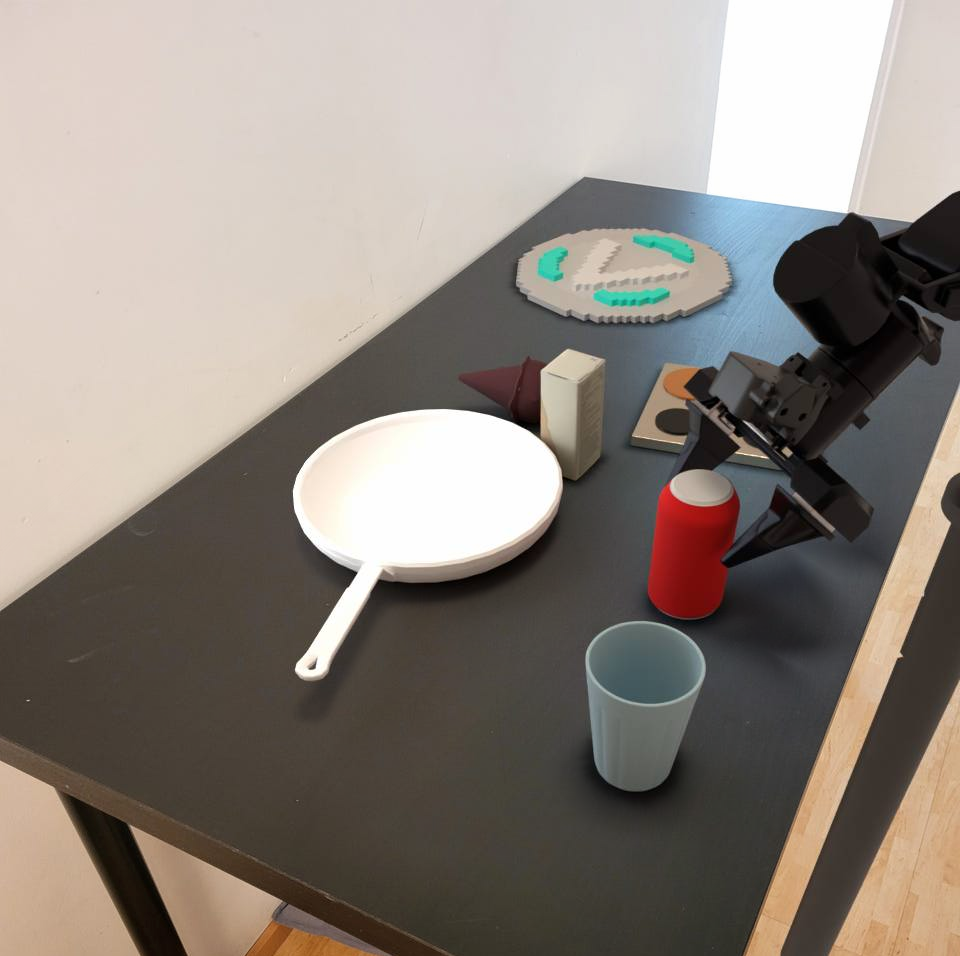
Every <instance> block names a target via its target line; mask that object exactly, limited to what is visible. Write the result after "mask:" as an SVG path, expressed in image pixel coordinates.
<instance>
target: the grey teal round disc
mask: <svg viewBox="0 0 960 956" xmlns="http://www.w3.org/2000/svg"><path fill="white" fill-rule="evenodd" d="M730 270H731V268H729V261H728V257H726V256H722V252H720V251H718V250H717V251H716V250H714V249H712V246H711V245H709V244H705V243H704V242H700V241H698V240H694V239H692V238H689V237H686V236H683V235H680V234H677V233H675V232H669V233H667V232H664V231H661V230H658V229H653V230H651V229H648V228H644V227H642V228H640V229H639V228H637V227H634V228H629V227H627V228H624V229H623V228H620V227H618V228H616V229H615V228H612V227H611V228H609V229H608V228H605V227H603V228H601V229H600V228H593V229H591V230H586V229H583V230H581V231H578V232H576V233H573V234H571V233H570V232H567V233H566V234H563V235H560V236H558V237H554V238H553V239H549V240H547V241H545V242H542V243H540V244H537V245H535V246H532V247H531V250H530V251H528V252H525V253H523V254H522V257H521V258H519V259H518V262H517V270H516V271H517V272H516V279H515V286H516V288H519V292H520V293H522V294H523V295H526V296H527V301H531V302H533V303H535V304H537V305H539V306H541V307H543V308H546V309H548V310H550V311H552V312H554V313H556V314H559V315H561V316H563V317H565V318H567V317H569V316H572V317H574V318H576V319H578V320H580V321H583V322H586V321H588V320H589V321H592V322H594V323H596V324H600V323H602V322H603V323H606V324H609V323H611V322H612V323H614V324H618V323H620V322H622V323H623V324H627V323H633V324H636V323H639V322H640V323H642V324H646V323H648V322H649V323H651V324H655V323H657V322H659V321H662V320H663V321H665V322H669V321H671V320H673V319H675V318H677V317H680V316H681V317H683V318H686V317H688V316H690V315H692V314H694V313H696V312H698V311H700V310H702V309H704V308H706V307H709V306H711V305H713V304H715V303H717V302H719V301H722V299H723V295H725V294H726V293H729V292H730V287H732V286H733V279H732V277H733V276H732V275H731V274H732V272H731V271H730Z"/></svg>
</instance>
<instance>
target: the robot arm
mask: <svg viewBox="0 0 960 956" xmlns="http://www.w3.org/2000/svg"><path fill="white" fill-rule="evenodd" d="M772 286H773V290H774V292H775V294H776V295H777V296H778V298H779V299H780V300H781V302H782V303H783V304H784V305H785V306H786V307H787V309H788V310H789V311H790V312H791V314H793V316H794V317H795V318H796V320H798V321H799V323H800V324H801V326H803V328H804V329H805V330H806V331H807V332H808V334H809V335H810V336H811V337H812V338H813V340H815V342H817V343H818V344H820V345H819V346H818V347H817V348H816V349H814V351H813V352H812V353H811V354H810V355H809V356H808V357H805V356H804V355H803V354H801V353H800V352H799V351H797V352H796V353H795V354H792V355H790V356H788V358H786V360H785V361H784V362H783V363H782V364H780V365H777V364H773V363H771V362H769V361H766V360H764V359H761V358H759V357H758V358H757V357H755V356H751V355H747V354H744V353H740V352H737V351H734V350H731V351H729V352H728V354H727V355H726V357H725V359H724V361H723V363H722V364H721V366H720V368H719V369H718V368H716V367H715V365H711V366H707V367H701V368H702V369H699V370H698V371H697V372H696V373H695V374H694V376H693V377H692V378H691V379H690V380H689V381H688V382H687V383H686V384H685V385H684V388H685V389H686V390H687V391H688V392H689V393H690V394H691V395H692V396H693V397H694V398H695V400H694V401H693V402H691V401H690V400H689V399H688V398H687V399H686V402H685V405H686V406H687V407H688V409H689V432H688V435H687V437H686V440H685V443H684V445H683V448H682V450H681V452H680V454H679V455H678V457H677V459H676V461H675V463H674V464H673V468H672V470H671V472H670V474H669V476H668V478H667V481H666V482H665V485H664V486H663V489H664V488H665V486H666V485H667V484H668V483H669V482H670V481H671V480H672V479H673V478H674V477H675V476H676V475H678V474H679V473H682V472H685V471H689V470H696V469H702V470H710V471H714V470H715V469H716V468H717V467H719V466H720V465H721V464H722V463H724V462H726V461H725V460H726V459H728V458H729V457H730V456H731V455H733V454H734V453H735V452H736V451H738V450H739V449H740V448H741V447H740V446H739V445H738V444H737V443H736V442H735V441H734V440H733V439H732V438H730V437H729V436H730V435H731V434H732V433H734V434H735V435H736V436H737V437H738V438H740V437H746V438H747V439H749V440H750V441H751V442H752V443H753V444H754V445H755V446H756V447H757V448H758V449H759V450H761V451H762V452H763V453H764V454H765V455H766V456H767V457H768V458H769V459H770V460H771V461H772V462H774V463H775V464H776V465H777V466H778V467H779V468H780V469H781V470H782V472H783V473H784V474H785V475H786V476H787V477H789V478H790V483H789V487H790V489H792V490H793V491H794V492H793V493H792V494H790V493H789V492H788V491H787V490H786V489H785V488H783V487H782V486H781V485H780V484H779V483H777V484H776V485H775V488H774V491H773V494H772V497H771V501H770V502H769V506H768V508H767V509H766V510H765V511H764V512H763V513H762V514H761V515H760V516H759V517H758V518H757V519H756V520H755V521H754V522H753V523H752V524H751V525H750V526H749V527H748V528H747V529H746V530H745V531H744V532H743V533H742V534H741V535H740V537H738V538H737V539H736V540H734V542H733V545H732V546H731V547H730V548H729V549H728V551H727V552H726V553H725V554H724V556H723V557H722V558H721V560H720V562H721V563H722V564H723V565H724V566H725V567H727V568H728V569H731V568H733V567H736V566H739V565H741V564H744V563H747V562H749V561H752V560H754V559H757V558H760V557H762V556H765V555H767V554H770V553H773V552H776V551H778V550H782V549H784V548H788V547H791V546H794V545H798V544H801V543H805V542H808V541H812V540H815V539H819V538H825V539H827V540H828V541H829V542H832V541H834V539H836V538H837V536H836V535H835V534H833V532H834V531H837V533H839V534H840V535H841V536H843V538H845V539H846V540H847V541H848V542H849V543H850V544H853V542H855V541H856V540H857V539H858V538H859V537H860V536H861V535H862V534H863V533H864V532H865V531H866V530H867V529H869V527H870V524H871V522H872V518H873V514H874V510H875V508H874V507H873V506H872V505H871V504H870V503H869V502H868V501H867V500H866V499H865V498H864V497H863V496H862V495H861V494H860V493H859V491H857V490H856V488H854V487H853V486H852V485H851V484H850V482H848V481H847V480H846V479H844V478H843V477H842V475H840V473H838V472H836V470H834V469H833V468H832V467H831V466H830V465H828V464H829V460H827V458H825V456H824V455H822V453H824V452H825V451H826V450H827V449H828V448H829V447H830V446H831V445H832V444H833V443H834V442H835V441H836V440H837V439H838V438H839V437H840V436H841V435H842V434H843V433H844V432H845V431H846V430H847V429H848V428H849V427H850V426H851V425H852V426H853V427H855V428H857V430H859V431H861V430H862V429H863V428H864V427H866V425H868V423H870V421H871V419H870V418H869V416H868V414H866V413H865V411H866V410H867V409H868V408H869V407H870V406H871V405H872V404H873V403H874V402H875V401H876V400H877V399H878V398H879V397H880V396H881V395H882V394H883V393H884V392H885V391H886V390H887V389H888V388H889V387H890V386H891V385H892V384H893V383H894V382H895V381H896V380H898V378H899V377H900V376H901V375H902V374H903V373H904V372H905V371H906V370H907V369H908V368H909V367H910V366H911V365H912V364H913V363H914V362H915V361H916V360H917V359H918V358H919V359H920V360H922V361H923V362H924V363H926V364H928V365H929V366H931V367H935V366H936V365H938V363H939V362H940V360H941V356H942V337H943V334H944V331H945V327H944V326H942V325H941V324H939V323H937V322H936V321H935V320H933V319H931V318H930V317H929V316H926V315H922V316H921V314H920V313H918V310H916V308H915V307H914V306H913V305H912V304H910V303H909V302H907V301H906V300H903V299H900V298H902V297H904V298H906V299H908V300H909V301H911V302H912V303H915V305H918V306H920V307H921V308H923V309H924V310H926V311H928V312H929V313H931V314H937V315H940V316H942V317H943V318H946V319H947V320H949V321H953V322H960V190H957V191H954V192H952V193H950V194H949V195H948V196H946V197H945V198H944V199H942V200H941V201H940V202H938V203H937V204H936V205H934V206H933V207H932V208H931V209H929V210H928V211H926V212H925V213H924V214H922V215H921V216H920V217H919V218H917V219H916V220H914V221H913V222H912V223H911V224H910V225H909V226H908V227H905V228H902V229H899V230H896V231H894V232H891V233H889V234H886V235H883V236H880V235H879V231H878V230H877V228H876V227H875V225H874V224H873V222H872V221H870V220H869V219H867V218H865V217H864V216H861V215H860V214H857V213H856V212H854V211H850V212H848V213H847V214H846V216H845V217H844V218H843V219H842V220H841V221H840V222H839V223H838V224H835V225H828V226H823V227H820V228H818V229H817V228H816V229H815V230H813V231H810V232H809V233H807V234H805V235H804V236H803V237H801V238H800V239H795V240H794V241H793V242H791V244H790V245H789V246H788V247H787V248H786V250H785V251H783V254H782V255H781V256H780V257H779V260H778V262H777V264H776V265H775V267H774V272H773V274H772ZM718 370H719V371H718ZM767 431H768V432H769V433H770V434H771V435H772V436H773V438H772V439H771V440H770V439H769V438H767V437H766V436H765V435H764V434H765V433H766V432H767ZM761 438H762V439H763V440H764V441H765V442H766V443H767V444H768V445H769V446H768V445H767V444H766V443H765V442H764V441H763V440H762V439H761ZM785 447H787V448H788V449H789V450H790V451H791V452H792V454H791V455H790V456H789V457H788V456H786V455H785V454H784V453H783V452H782V450H783V449H784V448H785ZM774 450H775V451H776V452H777V453H778V454H779V455H778V454H777V453H776V452H775V451H774ZM781 470H780V471H781Z"/></svg>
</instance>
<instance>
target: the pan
mask: <svg viewBox="0 0 960 956" xmlns="http://www.w3.org/2000/svg"><path fill="white" fill-rule="evenodd" d="M563 491H564V485H563V476H562V472H561V468H560V466H559V463H558V461H557V459H556V457H555V455H554V454H553V453H552V451H551V450H550V449H549V448H548V446H547V445H546V444H545V443H544V442H543V441H541V438H539V437H538V436H536V435H535V434H534V433H532V431H530V430H528V429H525V428H524V427H521V426H520V425H518V424H517V423H514V422H513V421H512V422H511V421H509V420H505V419H502V418H500V417H497V416H493V415H490V414H485V413H480V412H476V411H470V410H462V409H461V410H459V409H447V408H442V409H441V408H440V409H419V410H410V411H403V412H397V413H393V414H389V415H383V416H379V417H377V418H374V419H370V420H368V421H365V422H362V423H359V424H356V425H354V426H352V427H350V428H349V429H346V430H345V431H342V432H340V433H339V434H337V435H335V436H333V437H332V438H331V439H329V440H328V441H326V442H325V443H324V444H322V445H321V446H320V447H318V448H317V449H316V450H315V451H314V452H313V453H312V454H311V455H310V456H309V458H307V460H305V462H304V464H303V466H302V467H301V469H300V470H299V473H298V474H297V475H296V478H295V483H294V486H293V490H292V493H293V494H292V495H293V506H294V513H295V515H296V517H297V519H298V523H299V524H300V527H301V529H302V531H303V533H304V535H306V537H307V538H308V539H309V540H310V541H311V543H312V545H314V546H315V547H316V548H317V549H318V551H320V552H321V553H323V554H324V555H325V556H327V557H328V558H329V559H331V560H332V561H334V562H335V563H337V564H339V565H340V566H342V567H345V568H347V569H350V570H352V571H354V572H356V573H357V574H356V576H355V577H354V578H353V580H352V581H351V583H350V585H349V587H346V589H345V591H344V592H343V594H342V595H341V597H340V598H339V600H338V601H337V603H336V605H335V606H334V608H333V609H332V611H331V613H330V614H329V616H328V617H327V619H326V621H325V622H324V624H323V626H322V627H321V629H320V630H319V632H318V634H317V636H316V637H315V639H314V640H313V641H312V644H311V645H310V647H309V648H308V649H307V651H306V653H304V655H303V656H302V657H301V658H300V659H299V660H298V661H297V662H296V665H295V669H294V672H295V674H296V675H297V676H298V677H299V678H300V679H301V680H304V681H306V682H308V681H309V682H315V681H319V680H323V679H324V678H325V677H326V676H327V675H328V674H329V672H330V667H331V664H332V662H333V660H334V658H335V656H336V655H337V653H338V651H339V649H340V648H341V646H342V645H343V643H344V641H345V640H346V638H347V636H348V635H349V633H350V631H351V629H352V628H353V625H354V624H355V623H356V621H357V619H358V617H359V616H360V614H361V612H362V611H363V609H364V607H365V605H366V604H367V602H368V600H369V599H370V597H371V593H372V591H373V589H374V587H375V586H376V585H377V582H378V581H379V580H382V581H387V582H392V583H393V582H401V583H410V584H413V583H414V584H417V583H419V584H421V583H441V582H448V581H454V580H461V579H466V578H469V577H472V576H475V575H479V574H483V573H486V572H488V571H490V570H493V569H495V568H497V567H499V566H501V565H503V564H506V563H508V562H510V561H511V560H513V559H514V558H516V557H518V556H519V555H522V553H523V552H525V551H526V550H528V549H529V548H531V547H532V546H533V545H534V544H535V543H536V542H537V541H538V540H539V539H540V538H541V537H542V536H543V535H544V534H545V533H546V531H547V530H548V529H549V527H550V526H551V524H552V522H553V520H554V518H555V517H556V516H557V514H558V511H559V507H560V503H561V499H562V494H563ZM314 665H315V668H314V669H310V668H312V667H313V666H314Z"/></svg>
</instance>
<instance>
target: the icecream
mask: <svg viewBox="0 0 960 956" xmlns="http://www.w3.org/2000/svg"><path fill="white" fill-rule="evenodd" d="M548 364H549V363H546V362H544V361H540V360H537V359H531V357H530V355H528V356H526V357H525V358H524V361H523V362H522V363H521V364H517V365H510V366H506V367H505V366H503V367H497V368H491V369H485V370H478V371H471V372H465V373H459V374H458V377H457V379H458V381H460V382H461V383H462V384H465V385H466V386H468V387H469V388H471V389H473V390H475V391H476V392H478V393H479V394H481V395H483V396H484V397H486V398H488V399H489V400H491V401H492V402H494V403H496V405H499V406H501V407H502V408H504V409H505V410H507V411H508V412H510V413H511V414H510V418H511V419H512V422H513V423H514V424H517V422H518V421H522V422H525V423H533V424H536V423H538V422H539V423H540V422H541V370H542V369H543V368H545V367H546V366H547V365H548Z"/></svg>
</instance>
